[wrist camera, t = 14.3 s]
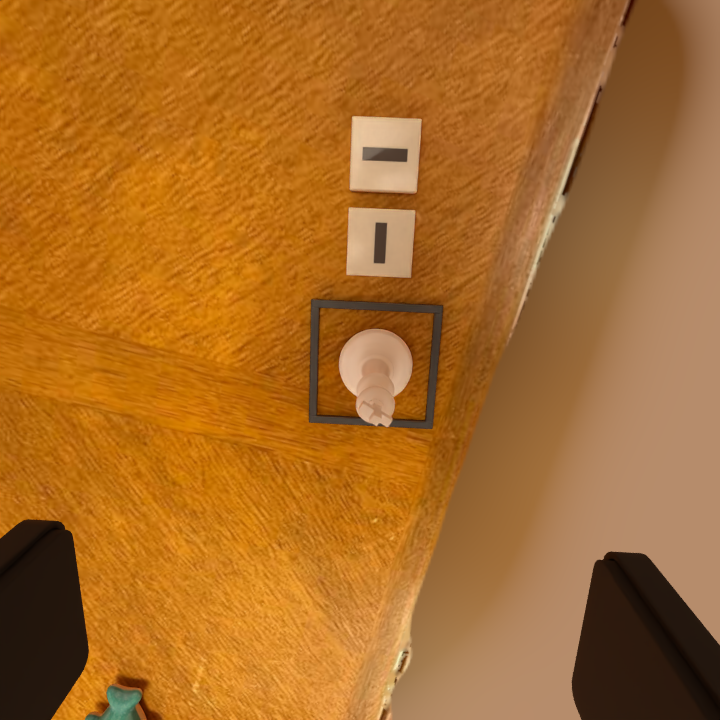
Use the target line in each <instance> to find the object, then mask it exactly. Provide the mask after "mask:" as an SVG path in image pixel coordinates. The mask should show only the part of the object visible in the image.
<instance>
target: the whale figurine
mask: <svg viewBox="0 0 720 720" xmlns="http://www.w3.org/2000/svg"><path fill="white" fill-rule="evenodd" d="M142 694H143V692H142V690H141V689H140V688H132V687H125V686H122V685H119V684H112V685H110V686H109V688H108V689H107V698H108V701H109V704H110V705H109V706H108V708H107V709H106V710H105V711H104V712H103V713H99V712H95V711H94V712H91V713H89V714H88V715H87V717H86V718H85V720H147V718H146V716H145V713H144V711H143V709H142V707H141V706H140V704H139V703H138V702H139V701H140V700H141V698H142Z"/></svg>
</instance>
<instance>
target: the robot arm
mask: <svg viewBox="0 0 720 720" xmlns="http://www.w3.org/2000/svg"><path fill="white" fill-rule="evenodd" d="M88 653H89V649H88V641H87V634H86V626H85V619H84V612H83V605H82V598H81V591H80V584H79V577H78V569H77V562H76V555H75V548H74V541H73V536H72V533H71V532H70V531H68V530H65V526H64V525H63V524H62V523H61V522H59V521H47V520H24V521H22V522H20V523H19V524H17V525H16V526H15V527H14V528H13V529H11V530H10V531H9V532H8V533H6V534H5V535H4V536H3V537H2V538H0V720H51V719H52V717H53V716H54V714H55V713H56V711H57V710H58V708H59V707H60V705H61V704H62V702H63V701H64V699H65V698H66V696H67V695H68V693H69V692H70V690H71V689H72V687H73V686H74V684H75V683H76V681H77V680H78V678H79V677H80V675H81V673H82V672H83V670H84V667H85V665H86V662H87V659H88ZM572 691H573V697H574V701H575V704H576V707H577V710H578V712H579V714H580V717H581V719H582V720H720V645H719V644H718V643H717V641H716V640H715V639H714V638H713V636H712V635H711V634H710V633H709V632H708V630H707V629H706V628H705V627H704V625H703V624H702V623H701V622H700V620H699V619H698V618H697V617H696V616H695V614H694V613H693V612H692V610H691V609H690V608H689V607H688V606H687V604H686V603H685V602H684V601H683V599H682V598H681V597H680V596H679V594H678V593H677V592H676V591H675V589H674V588H673V587H672V586H671V585H670V583H669V582H668V581H667V580H666V578H665V577H664V576H663V575H662V573H661V572H660V571H659V570H658V568H657V567H656V566H655V565H654V564H653V562H652V561H651V560H650V559H649V558H648V557H647V556H646V555H644V554H641V553H626V552H625V553H624V552H608V553H607V554H606V555H605V556H604V559H603V560H597V561H596V562H595V565H594V568H593V573H592V578H591V584H590V589H589V595H588V599H587V604H586V610H585V615H584V620H583V625H582V630H581V636H580V641H579V646H578V652H577V656H576V661H575V667H574V672H573V677H572Z"/></svg>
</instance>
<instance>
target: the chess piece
mask: <svg viewBox="0 0 720 720" xmlns="http://www.w3.org/2000/svg"><path fill="white" fill-rule="evenodd" d="M412 367H413V361H412V356H411V352H410V350H409V348H408V346H407V345H406V343H405V342H404V341H403V340H402V339H401V338H400V337H399V336H397V335H396V334H394V333H392V332H390V331H387V330H383V329H368V330H364V331H362V332H359V333H357V334H356V335H354V336H353V337H352V338H350V339H349V340H348V342H347V343H346V344H345V346H344V347H343V349H342V351H341V354H340V358H339V370H340V375H341V378H342V380H343V382H344V384H345V386H346V387H347V388H348V390H349V391H350V392H352V393H353V394H354V395H356V396H357V400H356V410H357V413H358V415H359V416H360V417H361V418H362V419H363V420H364V421H366V422H368V423H372V424H374V425H376V426H377V425H378V424H379V423H381V424H382V425H384V426H386V427H389V425H390V424H391V422H392V421H393V420H392V417H391V416H392V414H393V412H394V409H395V401H394V398H393V397H394V396H396V395H398V394H399V393H400V392H401V391H402V390H403V389H404V388H405V387H406V385H407V383H408V382H409V379H410V377H411V373H412Z"/></svg>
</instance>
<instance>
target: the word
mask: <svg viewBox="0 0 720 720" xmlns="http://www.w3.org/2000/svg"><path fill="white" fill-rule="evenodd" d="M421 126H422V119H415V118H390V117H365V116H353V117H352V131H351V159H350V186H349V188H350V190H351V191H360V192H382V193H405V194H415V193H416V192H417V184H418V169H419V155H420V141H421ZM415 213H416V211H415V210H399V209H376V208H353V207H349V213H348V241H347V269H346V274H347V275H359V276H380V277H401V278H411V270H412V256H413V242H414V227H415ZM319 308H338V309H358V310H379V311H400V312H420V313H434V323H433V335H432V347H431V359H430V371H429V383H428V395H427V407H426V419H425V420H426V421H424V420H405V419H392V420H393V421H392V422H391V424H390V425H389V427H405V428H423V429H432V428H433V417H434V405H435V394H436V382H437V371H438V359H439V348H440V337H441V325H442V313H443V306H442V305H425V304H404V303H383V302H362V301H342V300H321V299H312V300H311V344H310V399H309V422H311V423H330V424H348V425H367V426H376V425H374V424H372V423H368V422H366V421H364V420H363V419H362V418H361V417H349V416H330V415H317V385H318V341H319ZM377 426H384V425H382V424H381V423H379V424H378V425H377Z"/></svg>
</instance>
